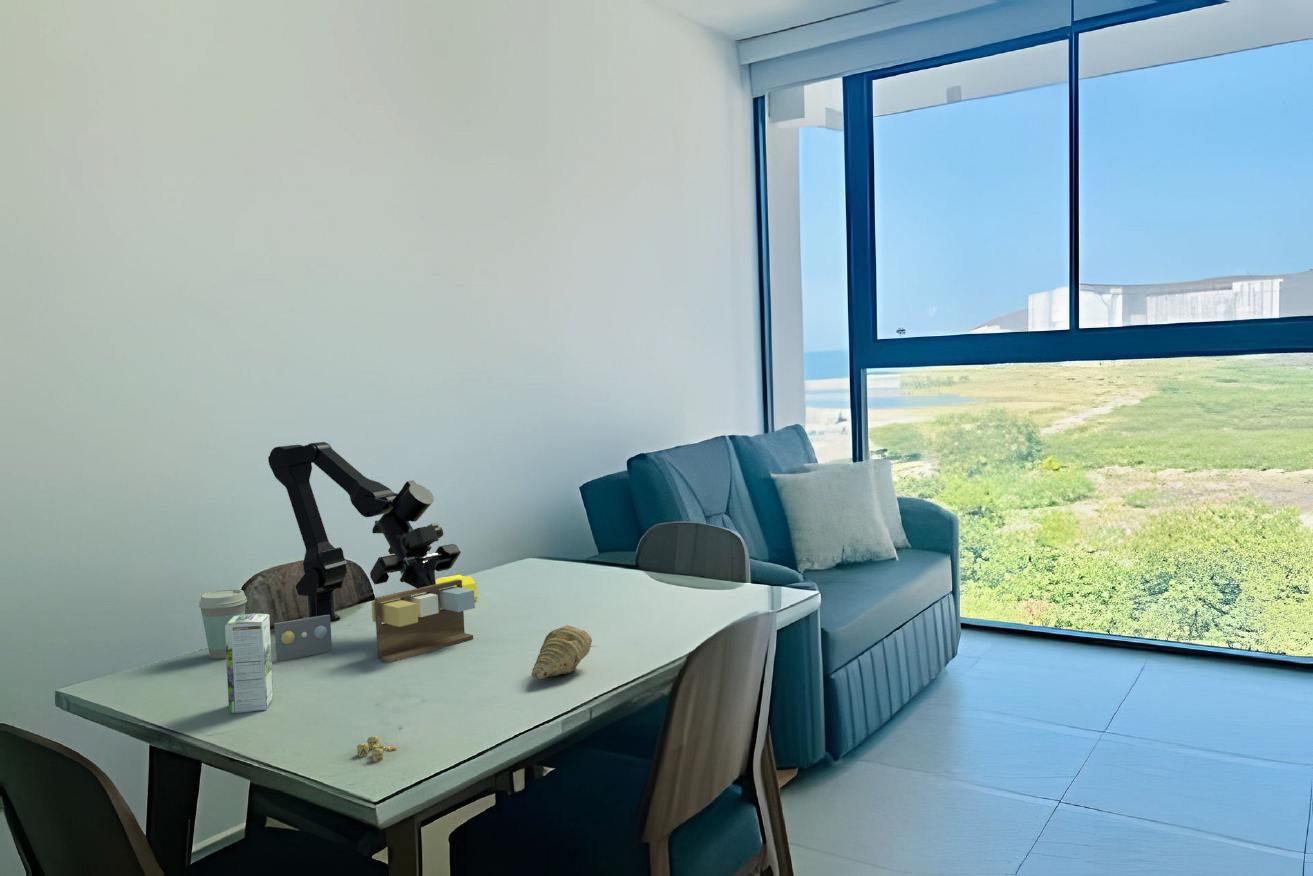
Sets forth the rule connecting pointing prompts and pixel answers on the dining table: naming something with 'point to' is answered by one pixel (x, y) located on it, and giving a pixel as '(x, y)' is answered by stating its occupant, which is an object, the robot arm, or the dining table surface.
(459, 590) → the right button
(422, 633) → the button board
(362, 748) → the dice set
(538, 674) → the seashell
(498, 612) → the dining table surface
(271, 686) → the syrup box
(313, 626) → the card
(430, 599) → the middle button
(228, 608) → the coffee cup
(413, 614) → the left button
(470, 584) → the yellow curved piece
